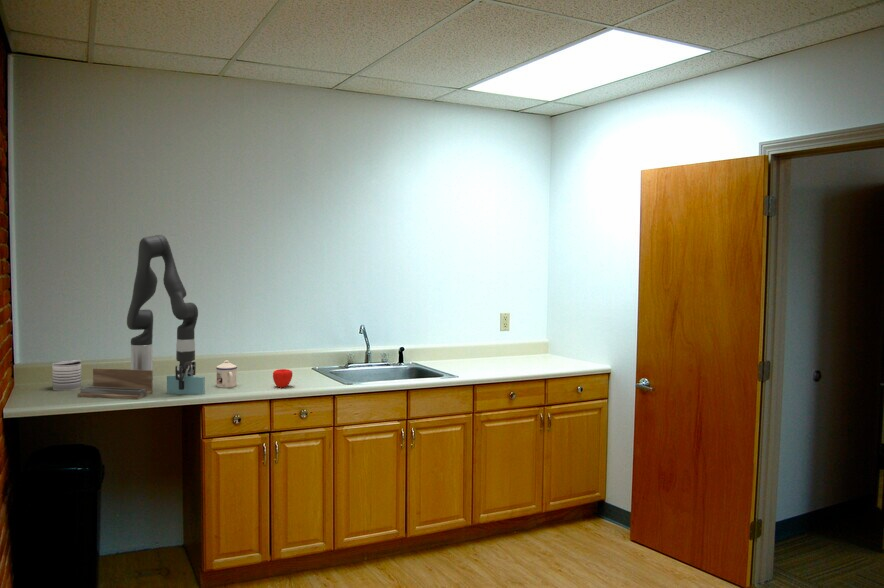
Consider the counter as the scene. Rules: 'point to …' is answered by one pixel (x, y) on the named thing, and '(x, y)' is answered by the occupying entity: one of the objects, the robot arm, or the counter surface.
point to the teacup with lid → (226, 375)
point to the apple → (282, 377)
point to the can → (66, 375)
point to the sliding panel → (186, 385)
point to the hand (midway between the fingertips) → (185, 387)
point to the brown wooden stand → (119, 384)
